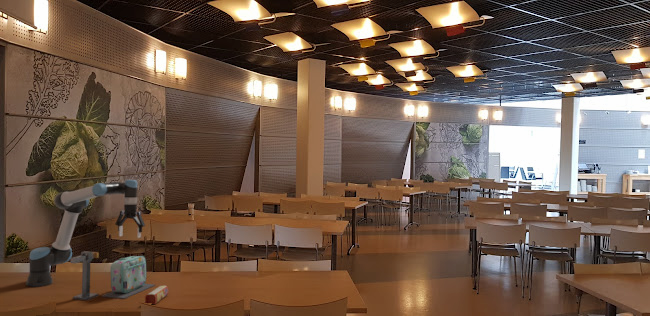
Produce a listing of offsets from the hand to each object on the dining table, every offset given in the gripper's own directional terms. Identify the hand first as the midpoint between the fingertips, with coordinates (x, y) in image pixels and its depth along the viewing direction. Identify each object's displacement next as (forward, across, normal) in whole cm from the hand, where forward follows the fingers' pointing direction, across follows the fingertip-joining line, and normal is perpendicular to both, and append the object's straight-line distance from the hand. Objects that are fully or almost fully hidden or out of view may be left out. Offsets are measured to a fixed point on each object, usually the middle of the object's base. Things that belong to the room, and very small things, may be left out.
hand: (129, 236), depth 307 cm
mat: (+34, +1, -1) cm, 34 cm away
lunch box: (+34, +1, -1) cm, 34 cm away
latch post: (+34, -14, -21) cm, 43 cm away
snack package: (+35, +29, -12) cm, 47 cm away
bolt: (+11, -15, -23) cm, 30 cm away
